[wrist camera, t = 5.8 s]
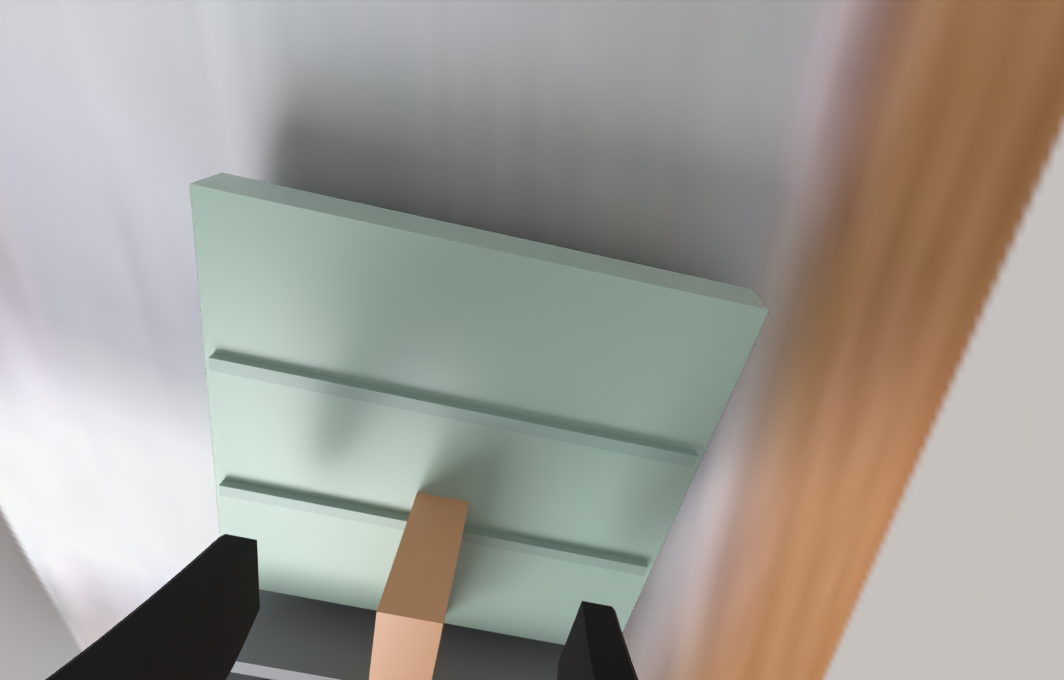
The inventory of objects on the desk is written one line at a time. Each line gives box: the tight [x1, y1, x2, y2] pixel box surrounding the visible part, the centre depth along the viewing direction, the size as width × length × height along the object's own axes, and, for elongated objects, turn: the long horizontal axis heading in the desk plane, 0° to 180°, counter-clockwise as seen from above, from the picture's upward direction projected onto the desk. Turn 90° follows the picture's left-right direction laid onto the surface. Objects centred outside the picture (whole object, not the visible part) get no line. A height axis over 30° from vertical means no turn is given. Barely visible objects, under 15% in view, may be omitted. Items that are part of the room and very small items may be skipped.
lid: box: [190, 173, 769, 680], centre depth 12 cm, size 10×10×5 cm
